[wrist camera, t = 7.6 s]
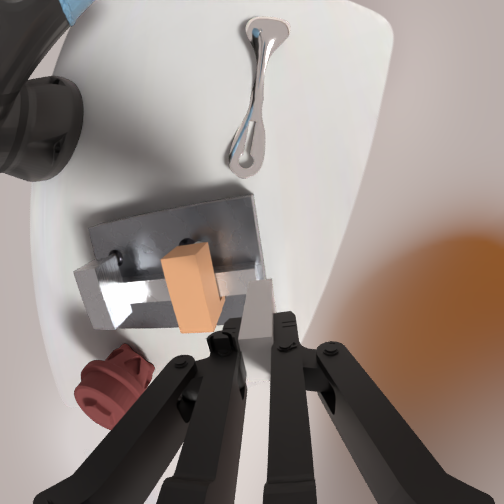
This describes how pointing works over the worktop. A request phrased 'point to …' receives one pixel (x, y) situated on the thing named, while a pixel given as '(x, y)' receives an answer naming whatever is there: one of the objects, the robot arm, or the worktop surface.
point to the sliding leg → (193, 287)
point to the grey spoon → (257, 91)
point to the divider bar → (141, 288)
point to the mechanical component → (113, 385)
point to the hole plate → (177, 234)
